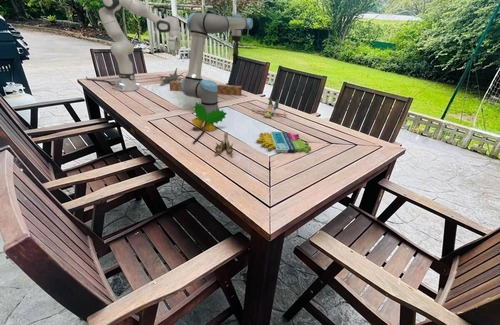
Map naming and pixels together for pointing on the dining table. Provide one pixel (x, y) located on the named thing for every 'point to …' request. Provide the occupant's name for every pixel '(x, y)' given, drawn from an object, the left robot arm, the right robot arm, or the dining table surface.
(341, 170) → the dining table surface
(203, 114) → the ornament
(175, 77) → the airplane
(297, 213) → the dining table surface
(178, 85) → the beam
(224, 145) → the jawbone
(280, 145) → the sign
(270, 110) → the toy
